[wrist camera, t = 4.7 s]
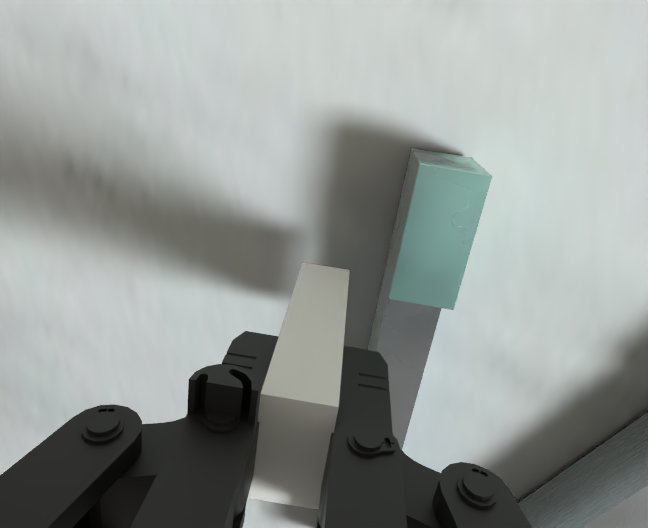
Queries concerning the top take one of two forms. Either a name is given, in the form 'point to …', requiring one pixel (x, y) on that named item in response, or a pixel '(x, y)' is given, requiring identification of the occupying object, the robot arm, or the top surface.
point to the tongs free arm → (424, 267)
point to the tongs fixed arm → (598, 487)
